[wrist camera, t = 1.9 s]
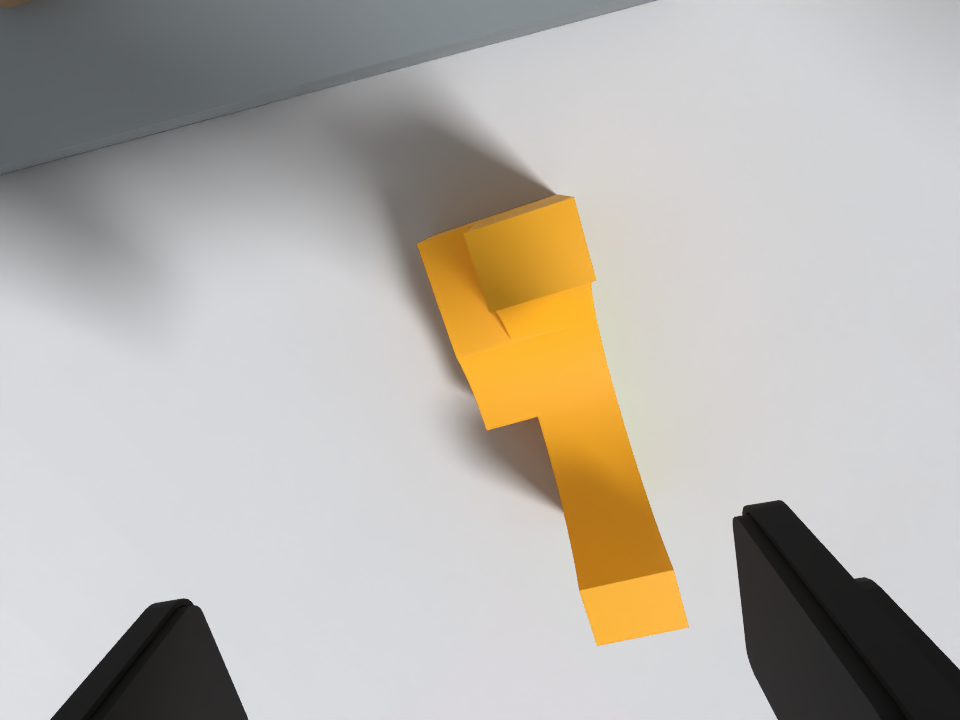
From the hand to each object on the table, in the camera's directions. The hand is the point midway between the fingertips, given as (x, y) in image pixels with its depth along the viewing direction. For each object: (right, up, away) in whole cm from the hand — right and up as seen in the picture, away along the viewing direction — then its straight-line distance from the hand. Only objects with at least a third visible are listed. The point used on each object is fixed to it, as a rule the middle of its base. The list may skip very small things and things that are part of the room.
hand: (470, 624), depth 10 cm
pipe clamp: (+2, +4, +11) cm, 12 cm away
